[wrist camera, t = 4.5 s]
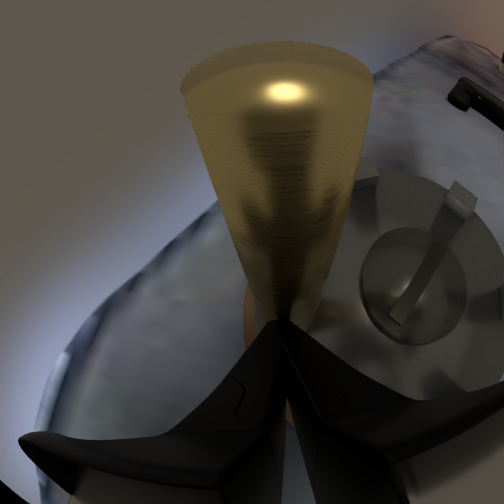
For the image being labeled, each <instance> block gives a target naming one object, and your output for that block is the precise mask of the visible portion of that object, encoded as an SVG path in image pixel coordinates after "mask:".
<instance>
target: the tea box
mask: <svg viewBox="0 0 504 504" xmlns="http://www.w3.org/2000/svg"><path fill="white" fill-rule="evenodd" d="M499 71H500V72H501V73H503V74H504V53H503V57H502V60H501V64H500V68H499Z"/></svg>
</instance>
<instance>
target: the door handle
mask: <svg viewBox="0 0 504 504" xmlns="http://www.w3.org/2000/svg"><path fill="white" fill-rule="evenodd" d="M448 99H449V101H450V103H451V104H453V105H454V106H455V107H457V108H459V109H461V110H467V109H468V108H469V107H470V106H471V107H472V108H474V109H475V110H477V111H478V112H479V113H481V114H482V115H484V116H485V117H487V118H488V119H489V120H491V121H492V122H493V123H495V124H496V125H497V126H498V127H500V128H501V129H502V130H504V102H503V101H501V100H500V99H498V98H497V97H496V96H494V95H493V94H491V93H490V92H488V91H487V90H485V89H484V88H482V87H481V86H479V85H478V84H476V83H475V82H473V81H471V80H470V79H468V78H466V77H461V78H460V79H459V80H458V83H457V84H456V85H455V87H454V88H453V89H452V90H451V92H450V93H449V94H448Z"/></svg>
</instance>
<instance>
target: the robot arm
mask: <svg viewBox="0 0 504 504" xmlns="http://www.w3.org/2000/svg"><path fill="white" fill-rule="evenodd" d="M287 399H288V403H289V407H290V410H291V414H292V418H293V421H294V425H295V429H296V432H297V436H298V440H299V443H300V447H301V451H302V454H303V458H304V461H305V465H306V469H307V472H308V476H309V480H310V483H311V487H312V490H313V493H314V498H315V501H316V504H504V381H502V382H499V383H497V384H494V385H492V386H489V387H486V388H482V389H479V390H475V391H471V392H466V393H462V394H457V395H452V396H447V397H442V398H436V399H430V400H417V399H412V398H409V397H407V396H404V395H402V394H400V393H398V392H396V391H394V390H393V389H391V388H389V387H387V386H385V385H383V384H381V383H379V382H377V381H375V380H373V379H372V378H370V377H368V376H366V375H365V374H363V373H361V372H359V371H358V370H357V369H355V368H354V367H352V366H351V365H349V364H348V363H346V362H345V361H344V360H341V358H339V357H338V356H337V355H335V354H334V353H333V352H331V351H330V350H329V349H327V348H326V347H325V346H323V345H322V344H321V343H319V342H318V341H317V340H315V339H314V338H313V337H311V336H310V335H309V334H307V333H306V332H305V331H304V330H302V329H301V328H300V327H298V326H297V325H296V324H294V323H293V322H292V321H291V320H271V321H268V322H267V323H266V324H265V326H264V327H263V328H262V330H261V331H260V332H259V334H258V335H257V336H256V338H255V339H254V340H253V342H252V343H251V344H250V346H249V347H248V348H247V350H246V351H245V352H244V354H243V355H242V356H241V358H240V359H239V360H238V362H237V363H236V364H235V365H234V367H233V368H232V369H231V371H230V372H229V373H228V375H227V376H226V377H225V378H224V379H223V381H222V382H221V383H220V384H219V385H218V386H217V388H216V389H215V390H214V391H213V392H212V393H211V394H210V395H209V396H208V397H207V398H206V399H205V400H204V401H203V402H202V403H201V404H200V405H199V406H198V407H196V408H195V409H194V410H193V411H192V412H191V413H190V414H189V415H188V416H186V417H185V418H184V419H183V420H182V421H181V422H180V423H179V424H177V425H176V426H175V427H174V428H172V429H171V430H169V431H168V432H166V433H164V434H161V435H157V436H152V437H142V438H131V439H116V440H84V439H76V438H71V437H67V436H64V435H61V434H58V433H54V432H47V431H43V432H42V431H38V432H31V433H28V434H25V435H23V436H22V437H20V438H19V439H18V442H19V445H20V447H21V449H22V450H23V451H24V453H25V454H26V455H27V456H28V457H29V458H30V459H31V460H32V461H33V462H34V463H35V464H36V465H37V466H38V467H39V468H40V469H41V470H42V471H43V472H44V473H45V474H46V475H47V476H49V477H50V478H51V479H52V480H53V481H54V482H55V483H57V484H58V485H59V486H60V487H61V488H63V489H64V490H65V491H66V492H68V493H69V494H70V495H71V497H70V499H69V501H68V504H281V496H282V484H283V470H284V454H285V436H286V413H287ZM0 504H29V503H28V502H26V501H25V500H24V499H22V498H21V497H20V496H19V495H17V494H16V493H15V492H14V491H12V490H11V489H10V488H9V487H8V486H6V485H5V484H4V483H3V482H2V481H1V480H0Z"/></svg>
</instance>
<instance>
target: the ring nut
mask: <svg viewBox="0 0 504 504" xmlns="http://www.w3.org/2000/svg"><path fill="white" fill-rule="evenodd" d="M373 85H374V79H373V76H372V73H371V72H370V70H369V69H368V68H367V67H366V66H365V65H364V64H363V63H362V62H360V61H359V60H357V59H355V58H354V57H352V56H350V55H348V54H346V53H344V52H342V51H339V50H336V49H333V48H330V47H326V46H322V45H317V44H311V43H305V42H293V41H275V42H263V43H254V44H249V45H244V46H240V47H236V48H232V49H229V50H226V51H223V52H220V53H218V54H215V55H213V56H211V57H209V58H207V59H205V60H203V61H202V62H200V63H199V64H197V65H196V66H195V67H193V68H192V69H191V70H190V71H189V72H188V73H187V74H186V75H185V77H184V78H183V80H182V82H181V86H180V90H181V94H182V97H183V100H184V103H185V106H186V109H187V112H188V115H189V118H190V121H191V123H192V127H193V130H194V133H195V135H196V138H197V141H198V144H199V147H200V150H201V153H202V155H203V158H204V161H205V164H206V167H207V170H208V172H209V176H210V178H211V181H212V184H213V187H214V190H215V193H216V195H217V198H218V201H219V204H220V207H221V209H222V212H223V215H224V218H225V221H226V223H227V226H228V229H229V232H230V234H231V237H232V240H233V243H234V246H235V248H236V251H237V254H238V256H239V259H240V262H241V265H242V267H243V270H244V273H245V276H246V278H247V281H248V284H249V286H250V289H251V292H252V294H253V297H254V307H255V320H256V325H257V331H258V334H259V332H260V331H261V330H262V328H263V327H264V326H265V324H266V323H267V322H268V321H271V320H291V321H292V322H293V323H294V324H296V325H297V326H298V327H300V328H301V329H302V330H304V331H305V332H306V333H307V334H309V335H310V336H311V337H313V338H314V339H315V340H317V341H318V342H319V343H321V344H322V345H323V346H325V347H326V348H327V349H329V350H330V351H331V352H333V353H334V354H335V355H337V356H338V357H339V358H341V360H344V361H345V362H346V363H348V364H349V365H351V366H352V367H354V368H355V369H357V370H358V371H359V372H361V373H363V374H365V375H366V376H368V377H370V378H372V379H373V380H375V381H377V382H379V383H381V384H383V385H385V386H387V387H389V388H391V389H393V390H394V391H396V392H398V393H400V394H402V395H404V396H407V397H409V398H412V399H417V400H430V399H436V398H442V397H447V396H452V395H457V394H462V393H466V392H471V391H475V390H479V389H482V388H486V387H489V386H492V385H494V384H497V383H499V381H500V379H501V377H502V375H503V373H504V255H503V253H502V251H501V249H500V247H499V245H498V243H497V241H496V240H495V238H494V236H493V235H492V233H491V231H490V230H489V229H488V227H487V226H486V225H485V223H484V222H483V221H482V219H481V218H480V217H479V216H478V215H477V214H476V213H475V212H474V208H475V205H476V203H477V200H478V198H477V197H475V196H474V195H473V194H472V193H471V192H469V191H468V190H467V189H466V188H464V187H463V186H462V185H460V184H459V183H458V182H457V181H454V183H453V185H452V186H451V188H450V190H447V189H446V188H444V187H442V186H441V185H439V184H437V183H435V182H433V181H431V180H428V179H426V178H424V177H421V176H418V175H415V174H412V173H408V172H403V171H398V170H392V169H380V168H379V169H376V168H375V167H374V166H373V164H372V163H371V162H370V160H369V159H368V157H364V158H360V157H361V153H362V148H363V143H364V138H365V133H366V127H367V122H368V116H369V111H370V105H371V98H372V92H373Z"/></svg>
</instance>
